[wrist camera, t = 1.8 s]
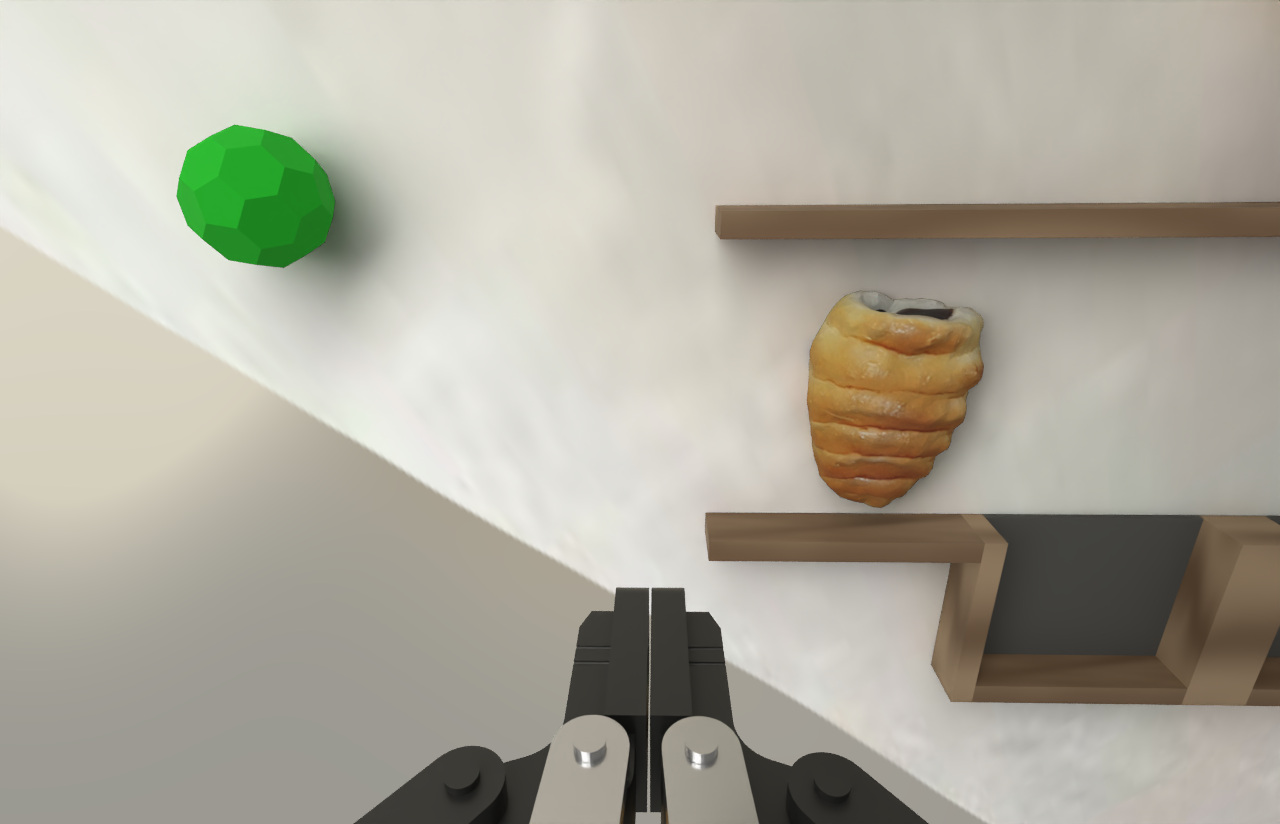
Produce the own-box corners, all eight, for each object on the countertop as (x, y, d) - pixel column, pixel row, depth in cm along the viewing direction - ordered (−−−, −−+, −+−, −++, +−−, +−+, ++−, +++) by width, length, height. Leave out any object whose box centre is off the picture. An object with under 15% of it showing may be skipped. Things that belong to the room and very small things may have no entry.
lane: (715, 205, 26) (725, 214, 23) (1983, 197, 25) (2214, 206, 21) (700, 661, 35) (705, 723, 31) (1647, 672, 34) (1771, 737, 30)
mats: (981, 514, 31) (985, 517, 31) (1485, 517, 31) (1493, 520, 30) (953, 649, 34) (956, 653, 34) (1412, 654, 33) (1418, 658, 33)
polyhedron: (355, 140, 26) (292, 138, 21) (355, 266, 28) (297, 288, 23) (226, 118, 26) (136, 111, 21) (234, 246, 27) (152, 264, 23)
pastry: (923, 493, 31) (957, 538, 28) (780, 481, 31) (795, 524, 28) (976, 296, 28) (1021, 318, 24) (815, 283, 28) (837, 302, 24)
